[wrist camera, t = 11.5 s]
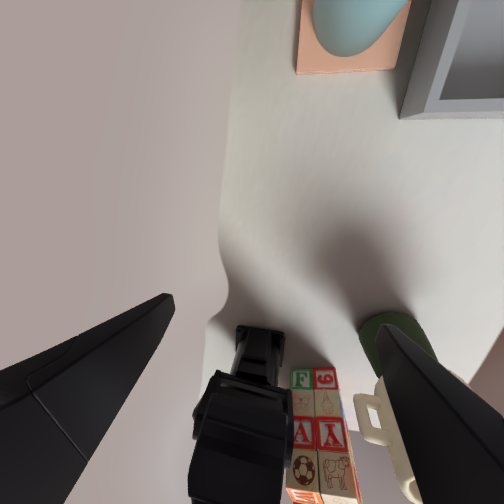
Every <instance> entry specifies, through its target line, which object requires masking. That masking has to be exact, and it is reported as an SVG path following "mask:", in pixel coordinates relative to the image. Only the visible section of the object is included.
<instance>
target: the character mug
mask: <svg viewBox="0 0 504 504" xmlns="http://www.w3.org/2000/svg"><path fill="white" fill-rule="evenodd" d="M382 324H389V325H394V326H396V327H397V328H398V329H399V330H400V331H402V332H403V333H404V334H405V335H406V336H408V337H409V338H410V339H411V340H412V341H414V342H415V343H416V344H417V345H418V346H420V347H421V348H422V349H423V350H424V351H426V352H427V353H428V354H429V355H430V356H432V357H433V358H434V359H435V360H436V361H438V359H437V357H436V355H435V353H434V351H433V349H432V346H431V344H430V342H429V340H428V338H427V337H426V335H425V333H424V331H423V329H422V328H421V326H420V325H419V323H418V322H417V320H415V319H413V318H411V317H409V316H407V315H406V314H402V313H393V312H388V313H384V314H380V315H377V316H374V317H373V318H371V319H370V320H369V321H367V322H366V323H364V325H363V326H362V328H361V330H360V331H359V340H360V343H361V345H362V347H363V350H364V352H365V354H366V356H367V358H368V360H369V362H370V364H371V366H372V368H373V370H374V372H375V374H376V376H377V377H378V378H379V380H378V382H377V383H376V385H375V391H374V396H373V395H368V394H362V393H361V394H355V395H354V397H353V402H354V407H355V411H356V416H357V420H358V425H359V430H360V432H361V434H362V436H363V438H364V439H365V440H367V441H368V442H370V443H375V444H380V445H384V446H387V447H388V450H389V454H390V457H391V460H392V464H393V467H394V470H395V474H396V477H397V480H398V483H399V485H400V487H401V490H402V491H403V493H404V494H405V495H406V497H407V498H408V499H409V500H410V501H412V502H414V503H415V504H423V502H422V499H421V496H420V493H419V490H418V486H417V483H416V480H415V477H414V474H413V471H412V468H411V465H410V462H409V459H408V456H407V453H406V450H405V447H404V444H403V440H402V437H401V434H400V431H399V428H398V425H397V422H396V419H395V416H394V413H393V410H392V407H391V404H390V401H389V398H388V394H387V391H386V388H385V385H384V381H383V377H382V372H381V367H380V362H379V358H378V353H377V348H376V343H375V340H376V336H377V334H378V331H379V329H380V326H381V325H382ZM448 371H450V370H448ZM450 372H451V371H450ZM451 373H452V374H453V375H454V376H456V377H457V378H458V379H459V380H460V381H461V382H463V383H464V384H465V385H466V386H467V387H469V388H470V389H471V387H470V386H469V385H468V384H467V383H466V382H465V381H464V380H463V379H461V378H460V377H458V376H457V375H456V374H454V373H453V372H451ZM471 390H472V389H471ZM472 391H473V390H472ZM367 408H370V409H375V410H377V414H378V418H379V421H380V425H381V428H382V429H380V428H375V427H373V426H372V424H371V421H370V417H369V413H368V409H367Z"/></svg>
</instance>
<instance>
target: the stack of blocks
mask: <svg viewBox="0 0 504 504" xmlns="http://www.w3.org/2000/svg"><path fill="white" fill-rule="evenodd" d="M290 390H292V399H293V415H294V446H293V455H292V461H291V465H290V468H289V469H286V486H285V487H286V489H287V491H288V493H289V495H290V497H291V499H292V501H293V504H363V502H362V498H361V494H360V489H359V483H358V478H357V473H356V467H355V463H354V457H353V451H352V447H351V441H350V437H349V432H348V427H347V422H346V420H345V415H344V410H343V406H342V400H341V395H340V389H339V383H338V378H337V373H336V369H335V368H313V369H291V375H290Z"/></svg>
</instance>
